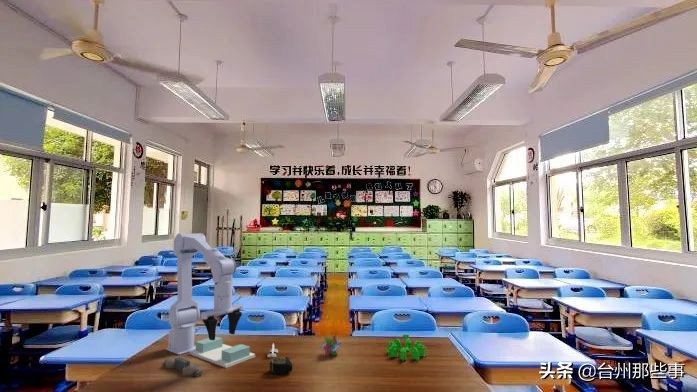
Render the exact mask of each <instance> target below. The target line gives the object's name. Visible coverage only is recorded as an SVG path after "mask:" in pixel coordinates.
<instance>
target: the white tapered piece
mask: <svg viewBox="0 0 697 392" xmlns="http://www.w3.org/2000/svg"><path fill="white" fill-rule="evenodd" d="M270 352H272V353H270ZM274 352H276V353H279V349H278V348H275V343H274V342H273V343H272V347H271V348H270V349H269V353H267V358H277V354H276V353H274Z"/></svg>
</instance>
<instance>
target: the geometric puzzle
mask: <svg viewBox="0 0 697 392" xmlns="http://www.w3.org/2000/svg"><path fill="white" fill-rule="evenodd" d="M330 337H331V338H330ZM323 340H324V341H323V342H322V343H323V344H322V345H321V346H320V349H321V350H322V351H325V352H324V354H325V357H326V358H327V357H330V355H333V356H334V355H335V356H338V350H339V349H340V347H341V346H342V343H341V340H340V338H339V337H338V336H336V335H333V336H328V337H327V336H326V337H325V336H324V338H323Z"/></svg>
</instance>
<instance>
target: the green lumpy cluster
mask: <svg viewBox="0 0 697 392" xmlns="http://www.w3.org/2000/svg"><path fill="white" fill-rule="evenodd" d="M402 338H404V339H405V340H404V341H405V342H404V345H405V347H403V346H402V343H401V340H400V339H399V338H395V339H394V341H388V342H386V345H385V351H386V352H387V354H388V356H389V358H391V359H392V358H397V357H398V355H400V360H401V362H404V361H405V360H407V359H408V358H407V352H409V353H410V355H411V358H412V360H415V361H416V362H417V361H419V360H420V357H423V358H424V357H426V356H427V354H428V349H427V347H426V346H425V345H424V344H423V342H422V341H420V340H416V341H415V342H414V343H413V345H412V342H411V339H410V335H409V334H403V335H402ZM387 345H388V346H387ZM387 347H388V349H387ZM425 350H426V353H425Z"/></svg>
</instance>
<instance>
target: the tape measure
mask: <svg viewBox="0 0 697 392" xmlns="http://www.w3.org/2000/svg"><path fill="white" fill-rule="evenodd" d="M293 368H294V367H293V363H292V362H291V360H290V358H289V357H288V356H285V357H279V356H278V357H273V358H272V359H271V361H270V363H269V370H270V372H271V373H272V374H275V375H284V374H286V373H290V372H292V371H293Z"/></svg>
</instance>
